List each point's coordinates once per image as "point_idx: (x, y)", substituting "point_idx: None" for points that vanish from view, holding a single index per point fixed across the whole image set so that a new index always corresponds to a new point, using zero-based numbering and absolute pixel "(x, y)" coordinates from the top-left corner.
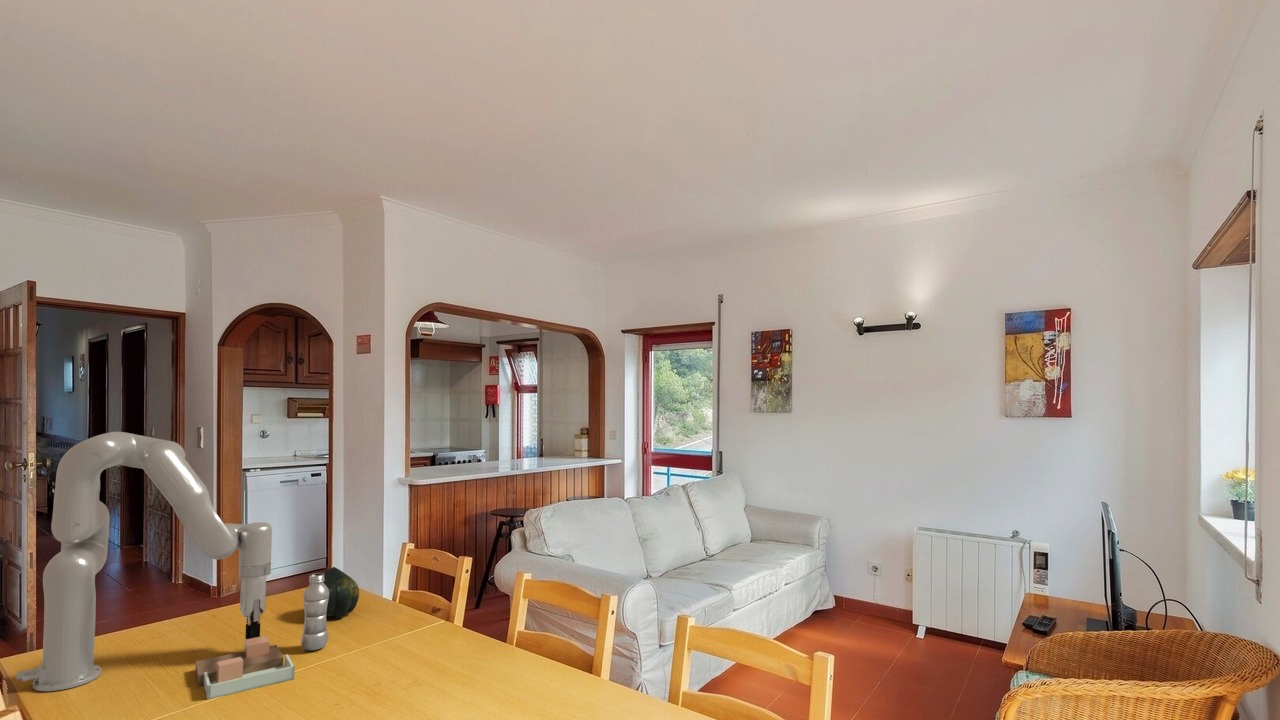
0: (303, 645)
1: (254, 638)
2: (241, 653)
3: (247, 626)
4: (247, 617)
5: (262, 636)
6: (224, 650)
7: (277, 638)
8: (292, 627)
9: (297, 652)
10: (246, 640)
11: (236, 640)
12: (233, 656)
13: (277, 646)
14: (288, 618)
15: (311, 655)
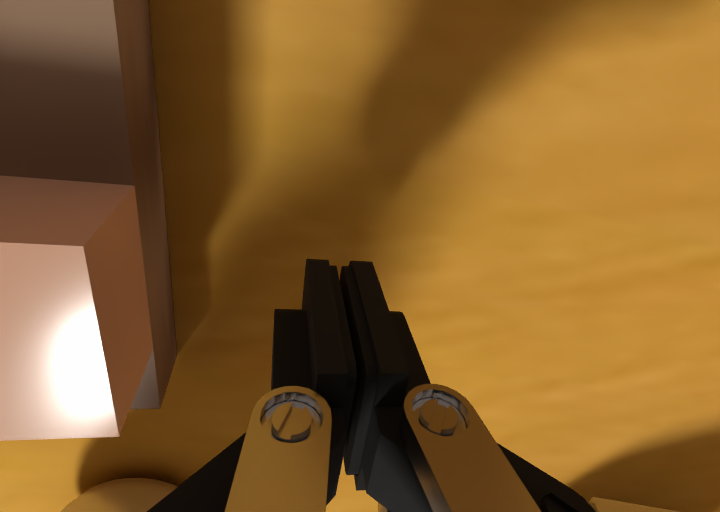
0: (84, 508)
1: (71, 342)
2: (72, 150)
3: (313, 374)
4: (434, 481)
5: (102, 409)
6: (540, 82)
7: (463, 391)
8: (557, 456)
9: (134, 441)
10: (31, 260)
11: (656, 204)
12: (1, 50)
13: None
14: (689, 454)
15: (30, 485)
